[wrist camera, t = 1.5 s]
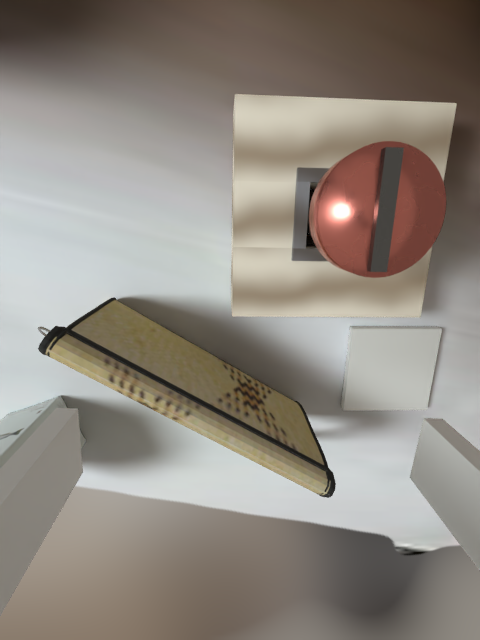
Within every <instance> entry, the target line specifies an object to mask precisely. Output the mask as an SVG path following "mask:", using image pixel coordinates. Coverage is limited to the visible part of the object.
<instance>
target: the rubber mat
mask: <svg viewBox="0 0 480 640" xmlns="http://www.w3.org/2000/svg"><path fill="white" fill-rule="evenodd" d="M441 333H442V329H441V328H439V327H437V326H350V329H349V338H348V347H347V356H346V365H345V374H344V383H343V392H342V401H341V408H342V409H343V411H378V410H427V406H428V401H429V396H430V390H431V385H432V380H433V375H434V369H435V364H436V359H437V354H438V348H439V343H440V338H441Z"/></svg>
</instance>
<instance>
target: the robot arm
mask: <svg viewBox="0 0 480 640" xmlns="http://www.w3.org/2000/svg"><path fill="white" fill-rule="evenodd" d="M82 473H83V468H82V455H81V441H80V428H79V415H78V408H56V409H55V410H54V411H53V412H52V413H51V414H50V415H49V416H48V418H47V419H46V420H45V421H44V422H43V423H42V424H41V425H40V426H39V427H38V428H37V429H36V430H35V432H34V433H33V434H32V435H31V436H30V437H29V438H28V439H27V440H26V441H25V442H24V443H23V445H22V446H21V447H20V448H19V449H18V450H17V451H16V452H15V453H14V454H13V455H12V456H11V457H10V459H9V460H8V461H7V462H6V463H5V464H4V465H3V466H2V467H1V468H0V615H1V614H2V612H3V610H4V608H5V607H6V605H7V603H8V601H9V600H10V598H11V596H12V594H13V593H14V591H15V589H16V588H17V586H18V584H19V582H20V580H21V579H22V577H23V575H24V574H25V572H26V570H27V568H28V566H29V565H30V563H31V561H32V560H33V558H34V556H35V554H36V553H37V551H38V549H39V547H40V546H41V544H42V542H43V540H44V539H45V537H46V535H47V533H48V532H49V530H50V528H51V526H52V525H53V523H54V521H55V519H56V518H57V516H58V514H59V512H60V511H61V509H62V507H63V506H64V504H65V502H66V500H67V499H68V497H69V495H70V493H71V492H72V490H73V488H74V487H75V485H76V483H77V481H78V480H79V478H80V476H81V474H82ZM410 478H411V480H412V481H413V482H414V484H415V485H416V486H417V488H418V489H419V490H420V492H421V493H422V494H423V496H424V497H425V498H426V500H427V501H428V502H429V504H430V505H431V506H432V508H433V509H434V511H435V512H436V513H437V515H438V516H439V517H440V519H441V520H442V521H443V523H444V524H445V525H446V527H447V528H448V529H449V531H450V532H451V533H452V535H453V536H454V537H455V539H456V540H457V541H458V543H459V544H460V545H461V547H463V549H464V550H465V552H466V553H467V554H468V556H469V557H470V558H471V560H472V561H473V563H474V564H475V565H476V567H477V568H478V569H479V571H480V451H479V450H478V449H476V448H475V447H474V446H473V445H472V444H471V443H470V442H468V441H467V440H466V439H465V438H464V437H463V436H462V435H460V434H459V433H458V432H457V431H456V430H455V429H454V428H452V427H451V426H450V425H449V424H448V423H447V422H445V421H444V420H443V419H431V418H424V419H423V423H422V427H421V432H420V436H419V440H418V445H417V449H416V453H415V457H414V462H413V466H412V470H411V475H410Z"/></svg>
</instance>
